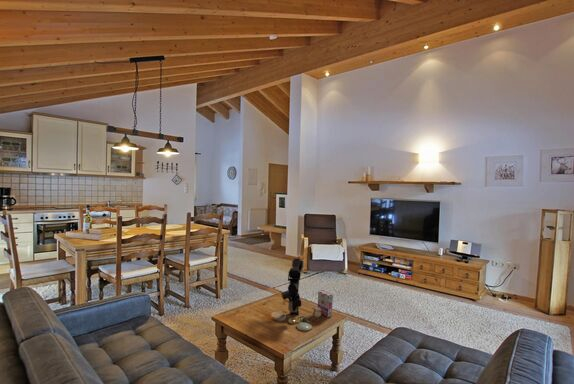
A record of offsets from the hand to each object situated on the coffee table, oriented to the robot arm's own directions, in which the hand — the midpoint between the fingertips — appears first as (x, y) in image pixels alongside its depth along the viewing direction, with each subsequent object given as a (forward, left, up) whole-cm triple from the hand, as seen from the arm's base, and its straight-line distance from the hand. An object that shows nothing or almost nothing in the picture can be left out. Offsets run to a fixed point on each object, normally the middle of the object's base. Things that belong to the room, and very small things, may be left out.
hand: (292, 309), depth 209 cm
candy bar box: (-17, +23, -9) cm, 30 cm away
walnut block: (0, 0, -1) cm, 1 cm away
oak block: (-6, +17, -4) cm, 19 cm away
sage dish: (+6, +9, -9) cm, 14 cm away
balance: (-3, +9, -9) cm, 13 cm away
